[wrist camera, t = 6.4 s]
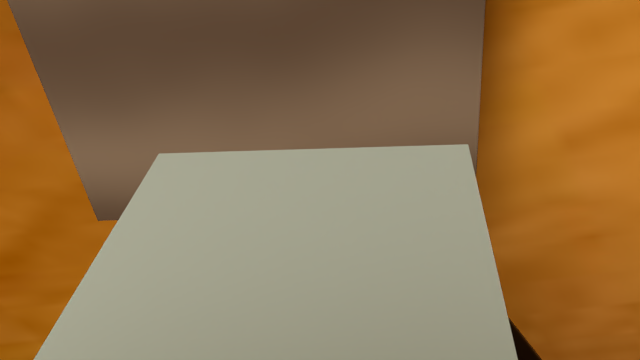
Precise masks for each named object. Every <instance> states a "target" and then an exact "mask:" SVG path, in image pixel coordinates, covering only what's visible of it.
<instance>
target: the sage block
mask: <svg viewBox="0 0 640 360" xmlns="http://www.w3.org/2000/svg"><path fill="white" fill-rule="evenodd" d="M34 360H518V358H517V354H516V349H515V345H514V341H513V336H512V332H511V328H510V323H509V319H508V315H507V310H506V306H505V302H504V297H503V293H502V289H501V284H500V280H499V276H498V272H497V267H496V263H495V259H494V254H493V250H492V246H491V241H490V237H489V233H488V228H487V224H486V220H485V215H484V211H483V207H482V202H481V198H480V194H479V189H478V185H477V181H476V176H475V172H474V168H473V163H472V159H471V155H470V150H469V146H468V144H459V145H426V146H393V147H360V148H326V149H293V150H260V151H227V152H194V153H160V154H158V156H157V157H156V159H155V161H154V162H153V164H152V166H151V167H150V169H149V171H148V172H147V174H146V176H145V177H144V179H143V181H142V182H141V184H140V185H139V187H138V189H137V190H136V192H135V194H134V195H133V197H132V199H131V200H130V202H129V204H128V205H127V207H126V209H125V210H124V212H123V213H122V215H121V217H120V218H119V220H118V222H117V223H116V225H115V227H114V228H113V230H112V232H111V233H110V235H109V237H108V238H107V240H106V241H105V243H104V245H103V246H102V248H101V250H100V251H99V253H98V255H97V256H96V258H95V260H94V261H93V263H92V264H91V266H90V268H89V269H88V271H87V273H86V274H85V276H84V278H83V279H82V281H81V283H80V284H79V286H78V288H77V289H76V291H75V292H74V294H73V296H72V297H71V299H70V301H69V302H68V304H67V306H66V307H65V309H64V311H63V312H62V314H61V316H60V317H59V319H58V320H57V322H56V324H55V325H54V327H53V329H52V330H51V332H50V334H49V335H48V337H47V339H46V340H45V342H44V344H43V345H42V347H41V348H40V350H39V352H38V353H37V355H36V357H35V358H34Z"/></svg>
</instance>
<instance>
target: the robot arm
mask: <svg viewBox="0 0 640 360" xmlns="http://www.w3.org/2000/svg"><path fill="white" fill-rule="evenodd" d="M508 319H509V317H508ZM509 323H510V328H511V332H512V336H513V341H514V345H515V349H516V354H517V358H518V360H542V359H541V358H540V357H539V355H538V354H537V353H536V352H535V350H534V349H533V348H532V347H531V345H530V344H529V343H528V341H527V340H526V339H525V338H524V336H523V335H522V334H521V333H520V331H519V330H518V329H517V328H516V326H515V325H514V324H513V322H512V321H511V320H510V319H509Z"/></svg>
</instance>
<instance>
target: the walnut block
mask: <svg viewBox="0 0 640 360" xmlns="http://www.w3.org/2000/svg"><path fill="white" fill-rule="evenodd" d="M7 1H8V3H9V6H10V8H11V10H12V13H13V15H14V18H15V20H16V23H17V25H18V27H19V30H20V32H21V35H22V37H23V40H24V42H25V44H26V47H27V49H28V52H29V54H30V57H31V59H32V61H33V64H34V66H35V69H36V71H37V74H38V76H39V78H40V81H41V83H42V86H43V88H44V91H45V93H46V95H47V98H48V100H49V103H50V105H51V108H52V110H53V112H54V115H55V117H56V120H57V122H58V125H59V127H60V130H61V132H62V134H63V137H64V139H65V142H66V144H67V147H68V149H69V151H70V154H71V156H72V159H73V161H74V164H75V166H76V168H77V171H78V173H79V176H80V178H81V181H82V183H83V185H84V188H85V190H86V193H87V195H88V198H89V200H90V202H91V205H92V207H93V210H94V212H95V215H96V217H97V219H98V221H102V220H119V218H120V217H121V215H122V213H123V212H124V210H125V209H126V207H127V205H128V204H129V202H130V200H131V199H132V197H133V195H134V194H135V192H136V190H137V189H138V187H139V185H140V184H141V182H142V181H143V179H144V177H145V176H146V174H147V172H148V171H149V169H150V167H151V166H152V164H153V162H154V161H155V159H156V157H157V156H158V154H160V153H194V152H227V151H260V150H293V149H326V148H360V147H393V146H426V145H459V144H468V146H469V150H470V155H471V159H472V163H473V168H474V172H475V176H476V168H477V149H478V130H479V111H480V92H481V73H482V54H483V36H484V17H485V0H7Z"/></svg>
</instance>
